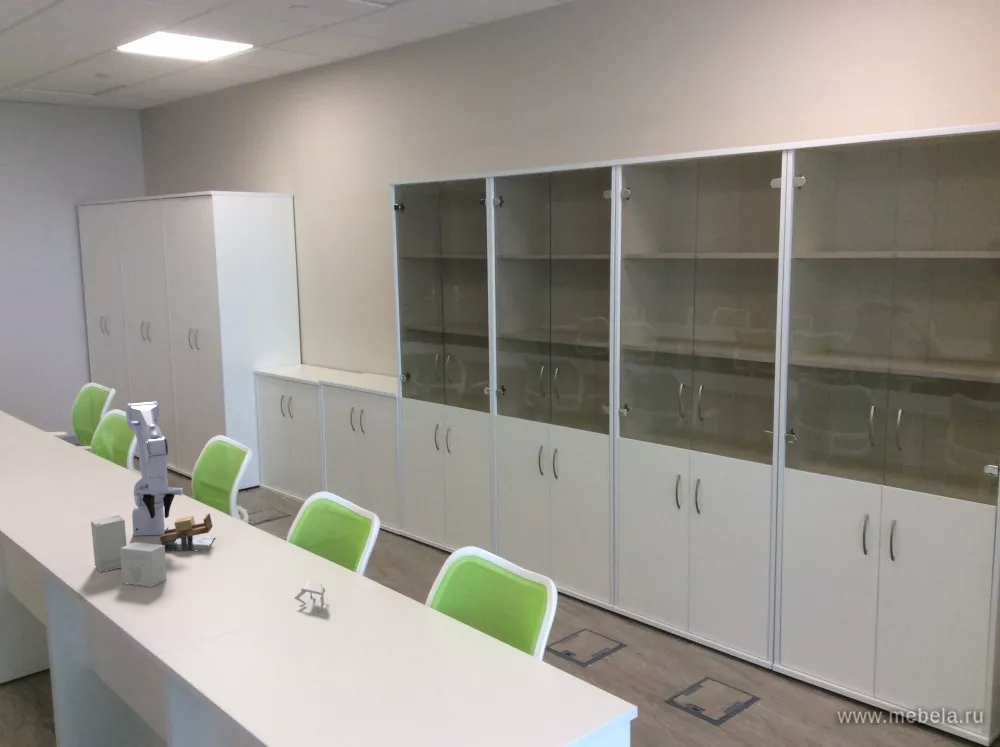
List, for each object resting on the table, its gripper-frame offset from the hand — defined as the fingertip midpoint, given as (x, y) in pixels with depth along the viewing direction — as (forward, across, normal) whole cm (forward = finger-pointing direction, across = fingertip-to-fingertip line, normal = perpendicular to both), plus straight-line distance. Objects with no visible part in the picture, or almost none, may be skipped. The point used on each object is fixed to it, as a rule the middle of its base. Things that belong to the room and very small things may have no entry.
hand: (159, 517), depth 268 cm
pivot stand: (+9, +8, 0) cm, 12 cm away
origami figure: (+10, +53, -51) cm, 75 cm away
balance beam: (+7, +8, 0) cm, 11 cm away
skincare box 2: (+10, +4, -30) cm, 32 cm away
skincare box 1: (+10, -10, -18) cm, 23 cm away
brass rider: (+5, +8, 0) cm, 9 cm away
